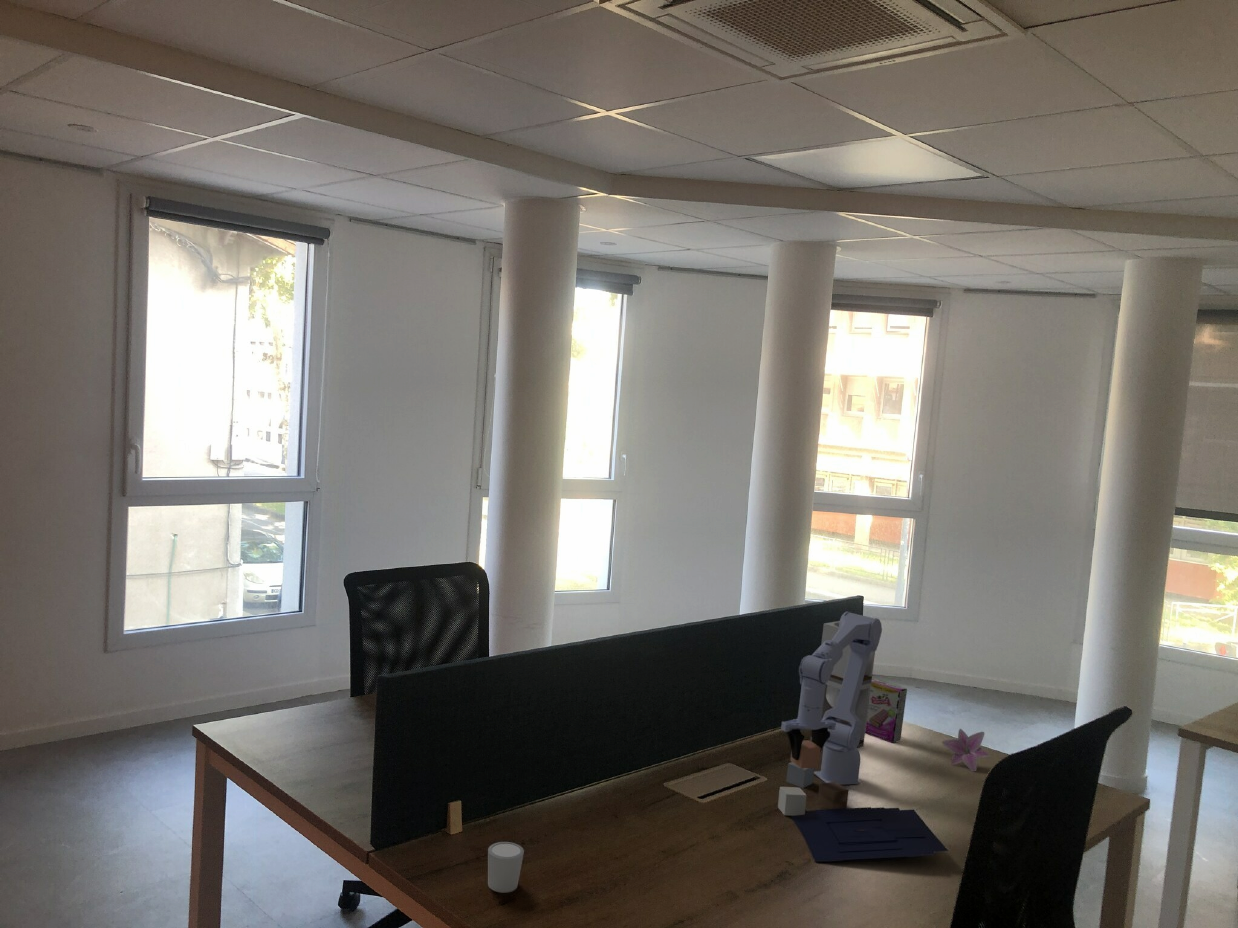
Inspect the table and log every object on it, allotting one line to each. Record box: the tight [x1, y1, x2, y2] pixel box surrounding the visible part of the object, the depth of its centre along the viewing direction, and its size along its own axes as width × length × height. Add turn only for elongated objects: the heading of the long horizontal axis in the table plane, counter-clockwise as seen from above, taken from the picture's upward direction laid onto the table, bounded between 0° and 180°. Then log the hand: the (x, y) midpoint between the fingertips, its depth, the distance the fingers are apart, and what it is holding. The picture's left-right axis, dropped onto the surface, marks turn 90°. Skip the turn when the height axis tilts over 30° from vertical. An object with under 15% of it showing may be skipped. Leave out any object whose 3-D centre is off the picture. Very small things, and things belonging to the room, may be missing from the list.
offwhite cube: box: [777, 786, 807, 817], centre depth 229 cm, size 5×5×5 cm
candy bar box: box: [865, 678, 908, 744], centre depth 290 cm, size 11×5×16 cm, turn 46°
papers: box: [789, 806, 949, 863], centre depth 217 cm, size 24×30×4 cm
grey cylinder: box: [487, 841, 525, 894], centre depth 183 cm, size 7×7×7 cm
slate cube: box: [785, 761, 815, 789], centre depth 248 cm, size 5×5×5 cm
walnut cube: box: [816, 782, 850, 809], centre depth 235 cm, size 5×5×5 cm
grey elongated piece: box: [809, 620, 876, 749], centre depth 279 cm, size 11×11×35 cm
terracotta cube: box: [789, 739, 822, 769], centre depth 237 cm, size 5×5×5 cm
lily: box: [941, 728, 991, 772], centre depth 274 cm, size 12×12×10 cm
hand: (804, 757), depth 237 cm, fingers closed on terracotta cube, 5 cm apart
